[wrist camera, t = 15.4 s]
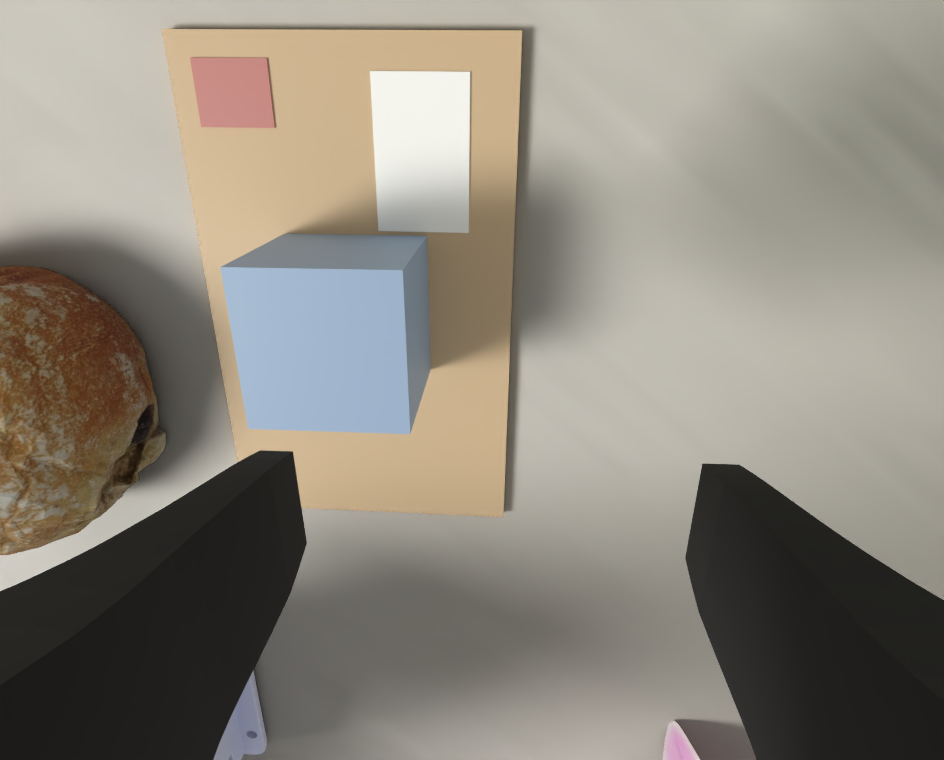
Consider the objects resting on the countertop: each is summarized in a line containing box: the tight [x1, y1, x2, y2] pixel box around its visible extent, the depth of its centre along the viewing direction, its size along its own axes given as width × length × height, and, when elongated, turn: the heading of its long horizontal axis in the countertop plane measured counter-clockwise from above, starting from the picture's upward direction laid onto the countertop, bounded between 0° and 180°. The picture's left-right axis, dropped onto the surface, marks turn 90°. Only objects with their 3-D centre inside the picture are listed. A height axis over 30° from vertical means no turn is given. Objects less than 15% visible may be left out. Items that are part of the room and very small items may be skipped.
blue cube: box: [220, 234, 431, 434], centre depth 17 cm, size 4×4×4 cm
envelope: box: [162, 29, 522, 517], centre depth 20 cm, size 16×10×1 cm, turn 179°
